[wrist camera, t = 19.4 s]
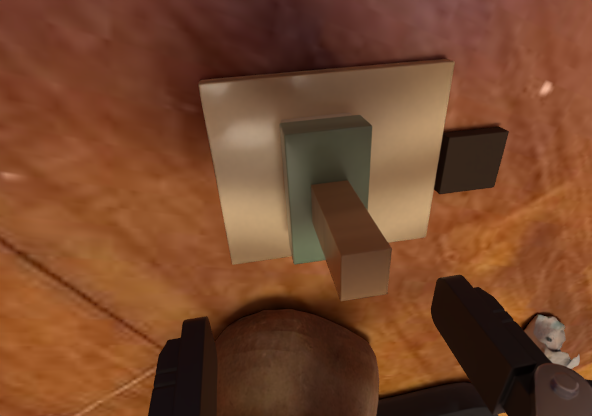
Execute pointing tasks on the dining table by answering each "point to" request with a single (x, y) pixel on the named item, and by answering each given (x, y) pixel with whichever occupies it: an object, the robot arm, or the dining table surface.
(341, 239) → the wall hook
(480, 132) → the dark brown square tile
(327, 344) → the ceramic vessel
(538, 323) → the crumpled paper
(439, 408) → the sandal
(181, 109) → the dining table surface
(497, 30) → the dining table surface
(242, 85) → the board
